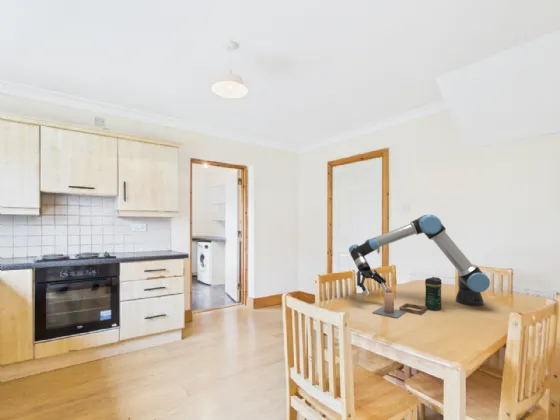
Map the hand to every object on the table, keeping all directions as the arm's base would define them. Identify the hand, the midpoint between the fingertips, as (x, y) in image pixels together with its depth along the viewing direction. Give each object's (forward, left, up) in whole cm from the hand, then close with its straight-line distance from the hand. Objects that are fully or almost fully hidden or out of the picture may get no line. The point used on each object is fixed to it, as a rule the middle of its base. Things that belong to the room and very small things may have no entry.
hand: (377, 294), depth 183 cm
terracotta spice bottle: (-9, +5, -8) cm, 13 cm away
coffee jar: (-26, -21, -8) cm, 34 cm away
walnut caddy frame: (-18, -9, -8) cm, 22 cm away
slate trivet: (-9, +5, -8) cm, 13 cm away
